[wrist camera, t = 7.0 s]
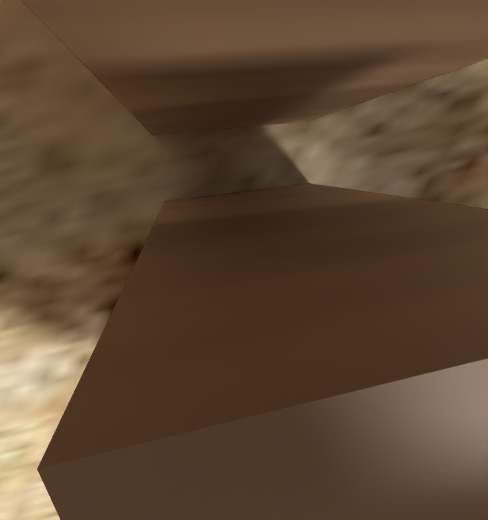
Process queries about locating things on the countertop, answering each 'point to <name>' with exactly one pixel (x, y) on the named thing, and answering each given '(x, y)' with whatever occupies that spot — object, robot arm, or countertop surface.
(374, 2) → the domino
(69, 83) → the countertop surface
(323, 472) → the domino
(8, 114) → the countertop surface
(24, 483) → the countertop surface
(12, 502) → the countertop surface
